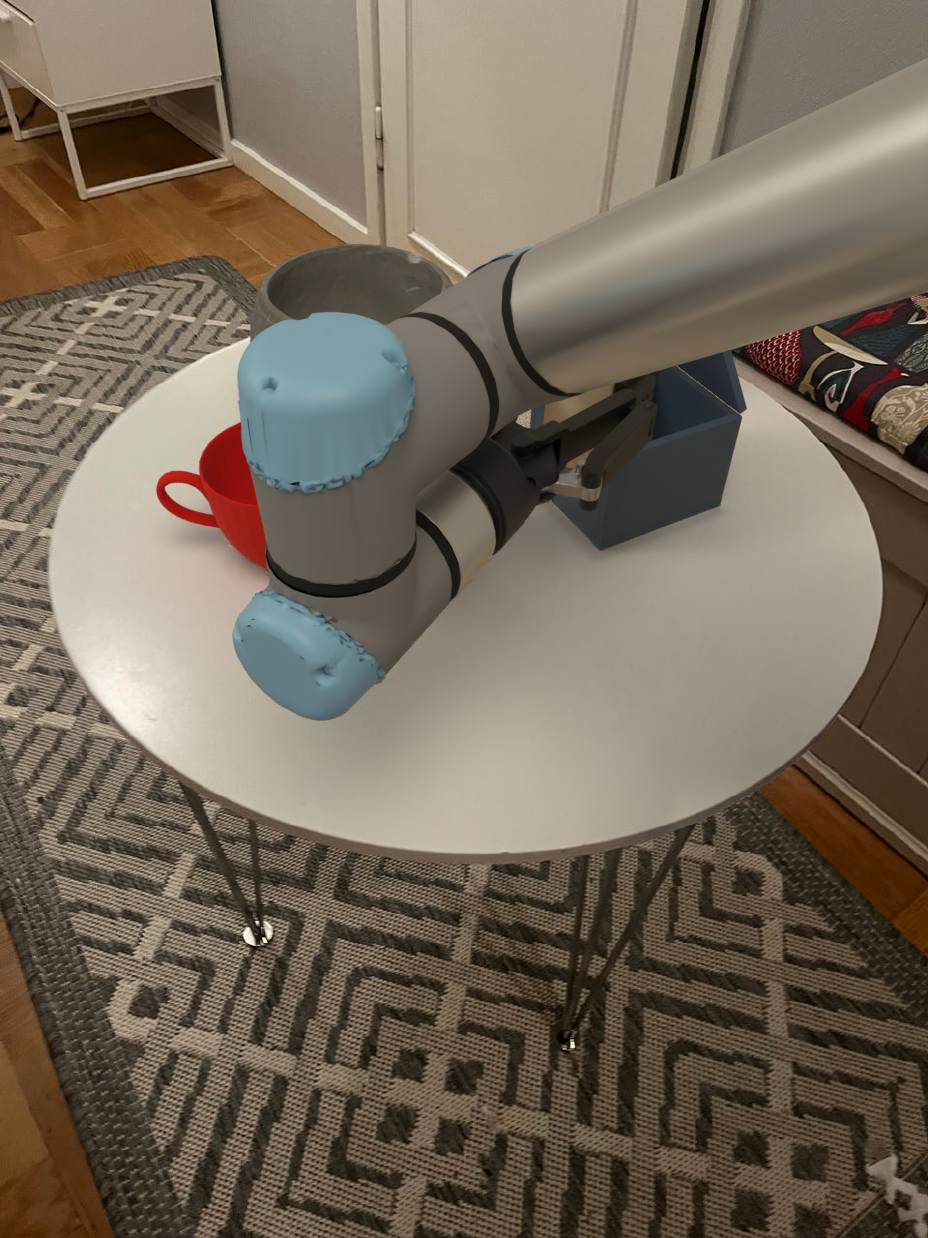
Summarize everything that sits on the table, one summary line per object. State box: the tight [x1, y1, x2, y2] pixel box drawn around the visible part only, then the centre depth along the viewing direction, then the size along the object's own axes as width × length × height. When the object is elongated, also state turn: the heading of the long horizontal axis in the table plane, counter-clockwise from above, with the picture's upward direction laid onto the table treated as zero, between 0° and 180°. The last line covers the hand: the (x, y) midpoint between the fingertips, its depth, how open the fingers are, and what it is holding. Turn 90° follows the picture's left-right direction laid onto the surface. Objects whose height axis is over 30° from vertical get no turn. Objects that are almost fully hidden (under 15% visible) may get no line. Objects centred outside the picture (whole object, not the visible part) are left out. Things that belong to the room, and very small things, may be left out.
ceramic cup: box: [155, 421, 268, 570], centre depth 81 cm, size 13×17×10 cm
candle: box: [544, 384, 615, 469], centre depth 68 cm, size 6×6×10 cm
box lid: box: [677, 349, 748, 415], centre depth 80 cm, size 14×13×8 cm
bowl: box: [249, 243, 454, 344], centre depth 93 cm, size 21×21×15 cm
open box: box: [529, 366, 743, 551], centre depth 87 cm, size 14×13×10 cm
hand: (618, 346), depth 71 cm, fingers closed on candle, 6 cm apart
